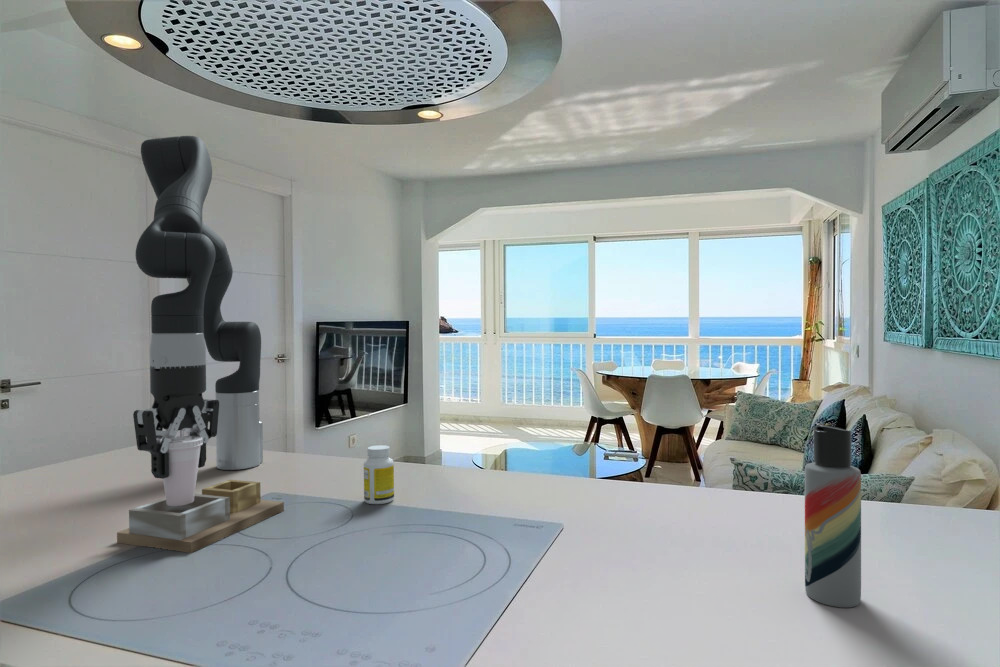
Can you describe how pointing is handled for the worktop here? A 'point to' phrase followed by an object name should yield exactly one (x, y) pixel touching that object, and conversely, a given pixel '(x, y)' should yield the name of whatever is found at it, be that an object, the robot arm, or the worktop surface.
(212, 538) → the fitting board
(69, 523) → the worktop surface
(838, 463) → the lotion bottle
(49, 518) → the worktop surface
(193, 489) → the smoothie
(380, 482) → the supplement bottle
